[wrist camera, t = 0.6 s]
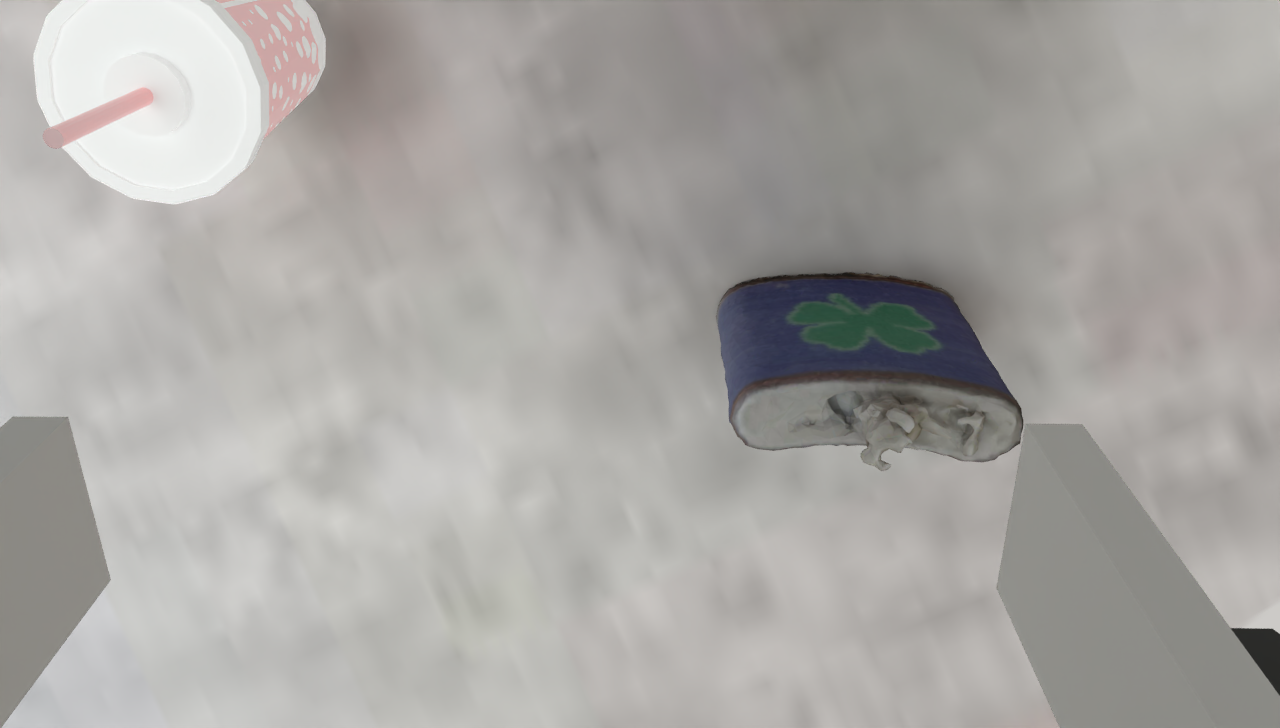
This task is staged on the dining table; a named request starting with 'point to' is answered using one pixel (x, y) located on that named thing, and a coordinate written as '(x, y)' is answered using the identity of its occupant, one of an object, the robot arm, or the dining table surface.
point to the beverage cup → (173, 87)
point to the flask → (861, 369)
